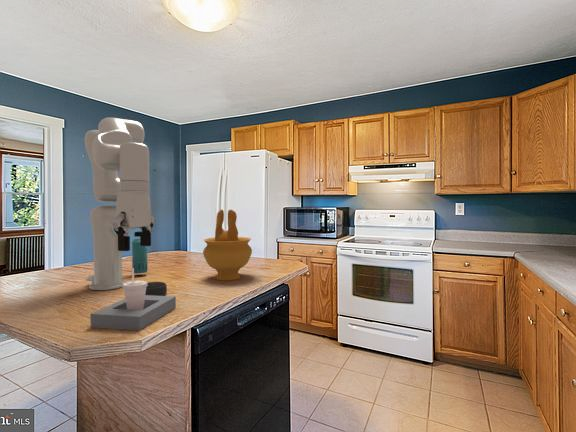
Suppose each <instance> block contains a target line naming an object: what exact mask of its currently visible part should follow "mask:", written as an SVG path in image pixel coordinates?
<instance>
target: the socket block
mask: <svg viewBox="0 0 576 432" xmlns="http://www.w3.org/2000/svg"><path fill="white" fill-rule="evenodd" d="M176 301H177V299H176V296H171V295H170V296H169V295H163V296H153V295H145V302H144V309H143V310H127V305H126V299H125V298H123V299H121V300H118V301H117V302H114V303H112V304H109V305H107V306H105V307H103V308H100V309H98V310H96V311H93V312H91V313H89V314H90V315H89V316H90V318H89V319H90V322H89V323H90V328H97V329H112V330H113V329H114V330H129V331H141V330H143V329H144V327H145V328H146V327H148V326H149V325H151V324H152V323H154V322H155V321H157V320H159V319H161V318H162V317H163V316H165V315H166V314H168V313H170V312H172V311H173V310H174V309H176V307H177V304H176V303H177V302H176Z"/></svg>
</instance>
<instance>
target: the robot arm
mask: <svg viewBox="0 0 576 432" xmlns="http://www.w3.org/2000/svg"><path fill="white" fill-rule="evenodd" d="M97 128H98V129H92V130H88V131H87V132H86V133H85V135H84V146H85V151H86V154H87V156H88V158H89V161H90V163H91V168H92V184H93V185H92V187H93V195H94V199H95V200H96V201H98V202H100V203H115V205H99V206H96V207H93V208H92V209H91V210H90V213H89V219H90V220H89V221H90V226H91V230H92V240H93V241H92V242H93V243H92V244H93V245H92V247H93V274H90V275H88V277H86V279H85V280H86V282H91V284H89V289H90V290H91V291H108V290H115V289H119V288H123V284H124V283H127V281H126V280H124V279H123V263H122V262H123V261H122V260H123V259H122V258H123V257H122V256H123V252H129V251H130V250H131V238H130V237H131V236H130V235H129V234H130V232H131V230H135V229H140V231H141V232H140V237H139V239H140V245H141V246H147V247H150V246H152V233H153V227H154V222H155V217H154V216H153V215H152V207H151V205H152V204H151V197H150V150H149V147H148V145H146V144H145V143H144V141H145V129H144V126H143V125H142V123H140V122H139V121H136V120H132V119H125V118H118V117H105V118H103V119H101V120H100V121H99V123H98V126H97ZM118 171H119V172H118ZM118 173H119V175H118Z"/></svg>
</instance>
